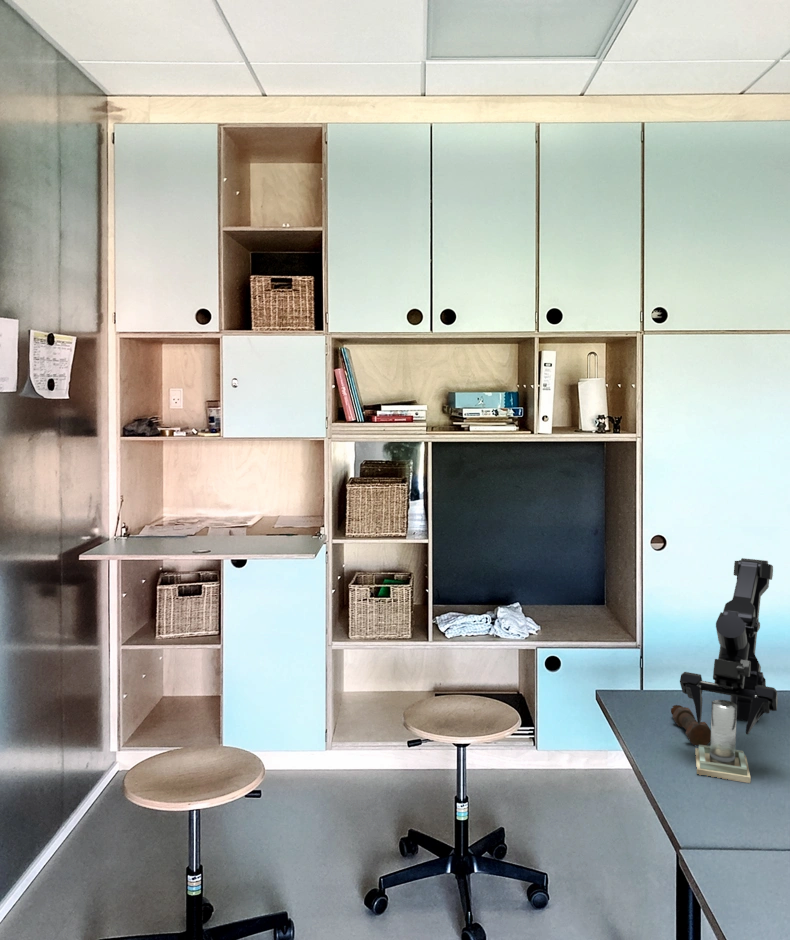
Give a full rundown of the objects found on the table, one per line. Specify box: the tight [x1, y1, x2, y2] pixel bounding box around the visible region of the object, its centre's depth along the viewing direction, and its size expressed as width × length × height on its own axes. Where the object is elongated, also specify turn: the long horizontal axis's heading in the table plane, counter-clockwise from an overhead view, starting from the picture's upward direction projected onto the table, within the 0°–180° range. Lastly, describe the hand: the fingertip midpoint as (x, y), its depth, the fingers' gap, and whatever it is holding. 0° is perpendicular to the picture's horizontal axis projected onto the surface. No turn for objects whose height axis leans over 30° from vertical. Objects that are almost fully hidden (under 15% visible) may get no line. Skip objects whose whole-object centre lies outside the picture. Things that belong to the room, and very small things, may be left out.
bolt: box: [670, 704, 711, 746], centre depth 175 cm, size 6×5×15 cm
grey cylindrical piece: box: [709, 699, 738, 766], centre depth 157 cm, size 5×5×12 cm
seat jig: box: [694, 745, 752, 784], centre depth 157 cm, size 10×10×2 cm
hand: (722, 728), depth 155 cm, fingers open, 9 cm apart
